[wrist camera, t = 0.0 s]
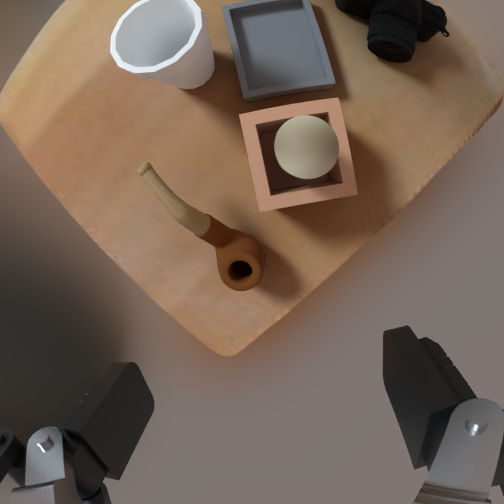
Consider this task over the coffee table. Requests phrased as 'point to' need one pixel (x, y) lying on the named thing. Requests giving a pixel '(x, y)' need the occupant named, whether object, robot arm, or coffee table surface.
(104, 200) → the coffee table surface
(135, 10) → the foam cup
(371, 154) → the coffee table surface
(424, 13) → the film camera
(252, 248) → the smoking pipe
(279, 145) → the maple dowel
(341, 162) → the deep box
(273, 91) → the tray
